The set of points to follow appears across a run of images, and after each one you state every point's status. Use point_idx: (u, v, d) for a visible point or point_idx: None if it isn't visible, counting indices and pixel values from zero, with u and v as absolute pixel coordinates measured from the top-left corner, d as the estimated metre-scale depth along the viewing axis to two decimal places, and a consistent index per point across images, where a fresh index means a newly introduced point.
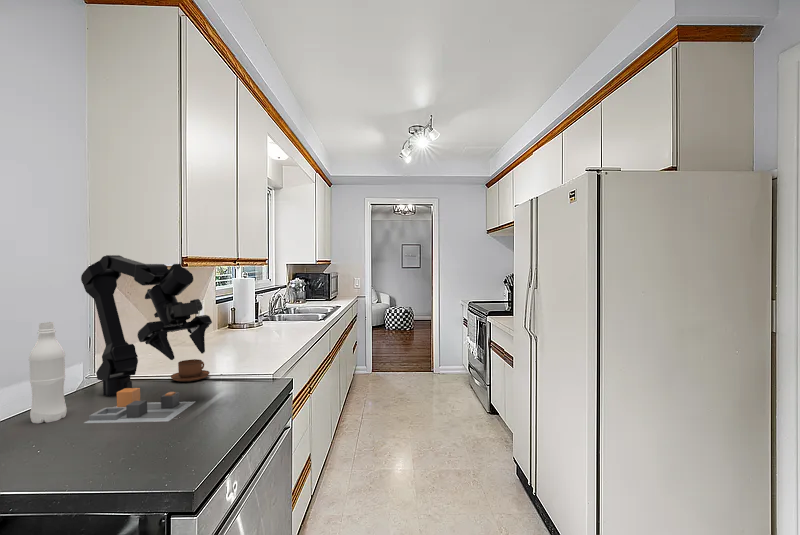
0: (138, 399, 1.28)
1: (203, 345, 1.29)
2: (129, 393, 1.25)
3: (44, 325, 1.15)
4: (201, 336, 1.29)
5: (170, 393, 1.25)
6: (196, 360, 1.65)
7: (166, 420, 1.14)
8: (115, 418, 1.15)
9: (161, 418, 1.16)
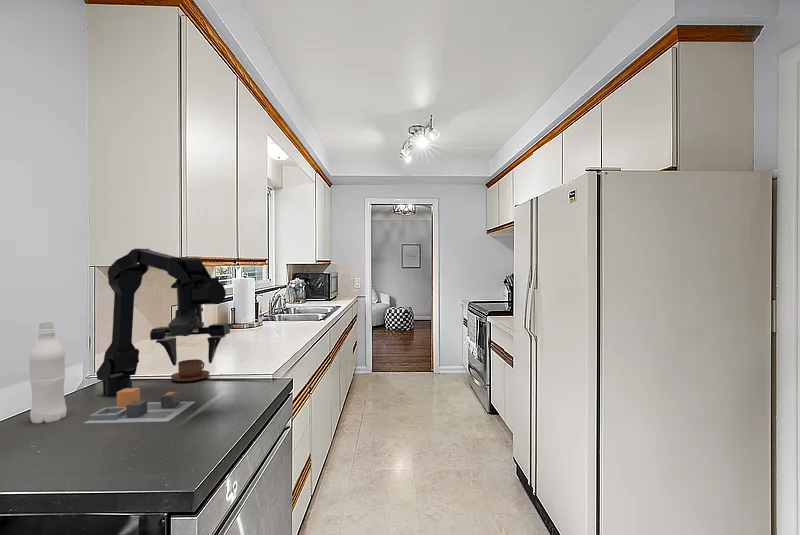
0: (138, 399, 1.28)
1: (210, 356, 1.25)
2: (129, 393, 1.25)
3: (44, 325, 1.15)
4: (210, 347, 1.24)
5: (170, 393, 1.25)
6: (196, 360, 1.65)
7: (166, 420, 1.14)
8: (115, 418, 1.15)
9: (161, 418, 1.16)
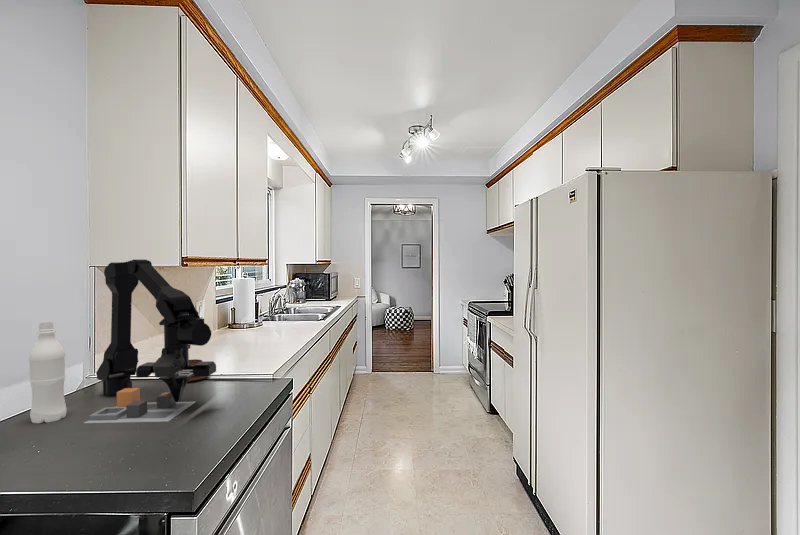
0: (138, 399, 1.28)
1: (177, 396, 1.25)
2: (129, 393, 1.25)
3: (44, 325, 1.15)
4: (177, 386, 1.24)
5: (166, 393, 1.25)
6: (196, 360, 1.65)
7: (166, 420, 1.14)
8: (115, 418, 1.15)
9: (161, 418, 1.16)
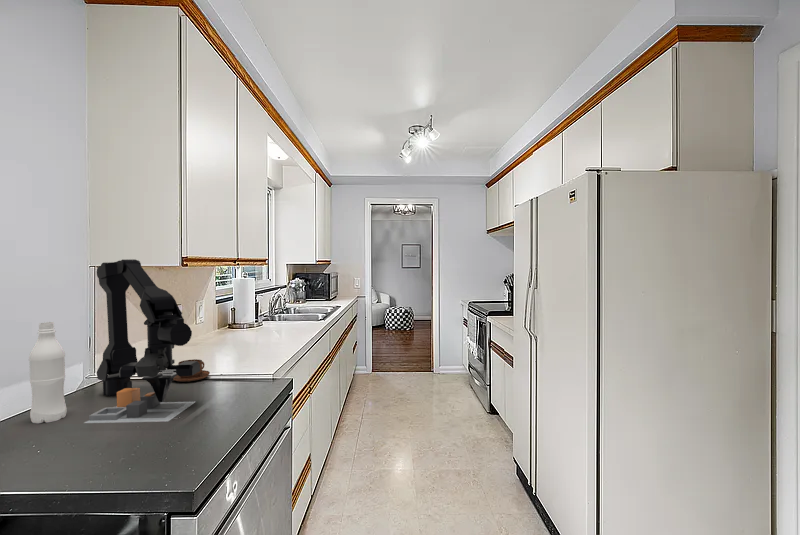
0: (138, 399, 1.28)
1: (161, 395, 1.24)
2: (129, 393, 1.25)
3: (44, 325, 1.15)
4: (161, 386, 1.24)
5: (150, 393, 1.25)
6: (196, 360, 1.64)
7: (166, 420, 1.14)
8: (115, 418, 1.15)
9: (161, 418, 1.16)
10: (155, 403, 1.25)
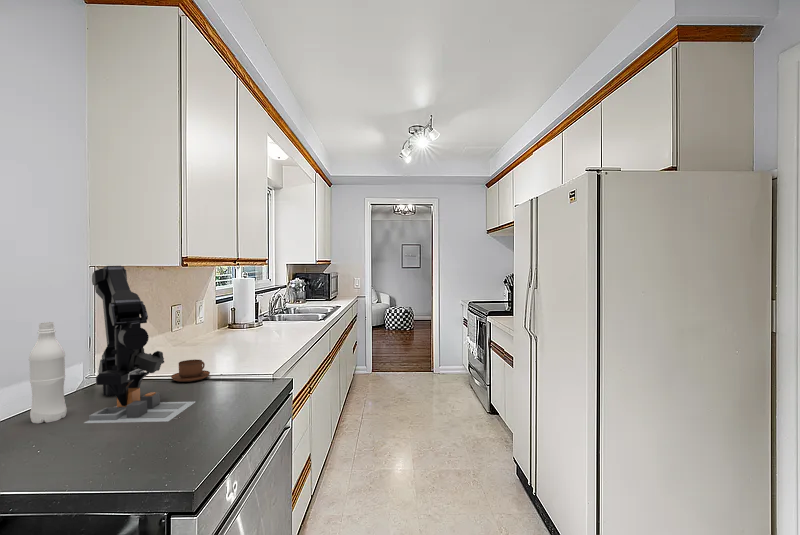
0: (138, 399, 1.28)
1: None
2: (129, 393, 1.25)
3: (44, 325, 1.15)
4: (138, 384, 1.30)
5: (150, 393, 1.25)
6: (196, 360, 1.64)
7: (166, 420, 1.14)
8: (115, 418, 1.15)
9: (161, 418, 1.16)
10: (155, 403, 1.25)
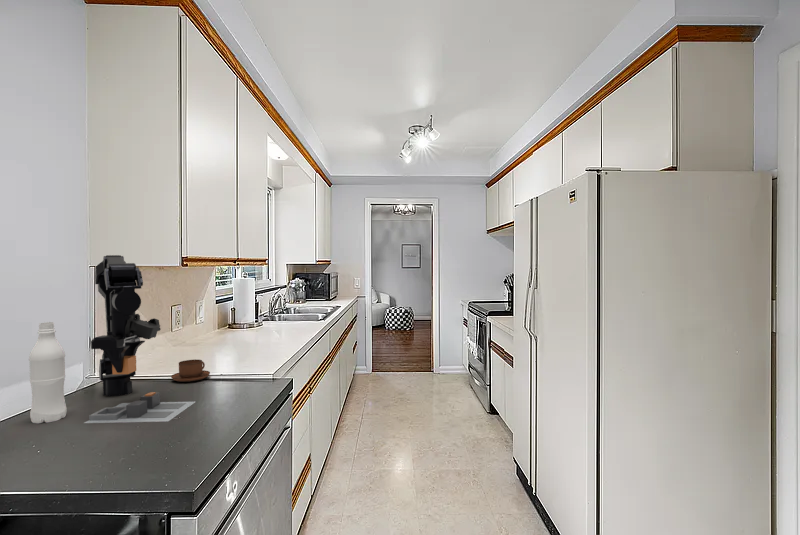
0: (134, 367, 1.26)
1: None
2: (125, 360, 1.23)
3: (44, 325, 1.15)
4: (133, 352, 1.28)
5: (150, 393, 1.25)
6: (196, 360, 1.64)
7: (166, 420, 1.14)
8: (115, 418, 1.15)
9: (161, 418, 1.16)
10: (155, 403, 1.25)
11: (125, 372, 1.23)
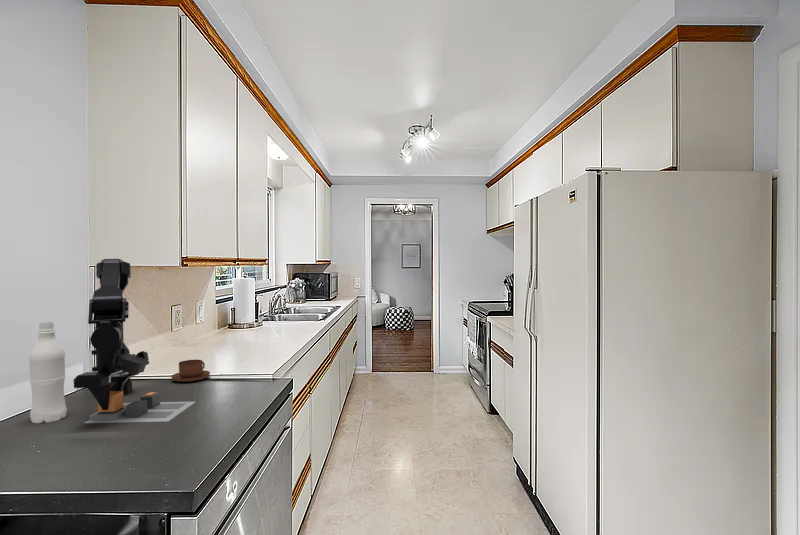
0: (121, 403, 1.19)
1: None
2: (111, 396, 1.16)
3: (44, 325, 1.15)
4: (121, 386, 1.21)
5: (150, 393, 1.25)
6: (197, 360, 1.64)
7: (166, 420, 1.14)
8: (115, 418, 1.15)
9: (161, 418, 1.16)
10: (155, 403, 1.25)
11: (111, 409, 1.16)
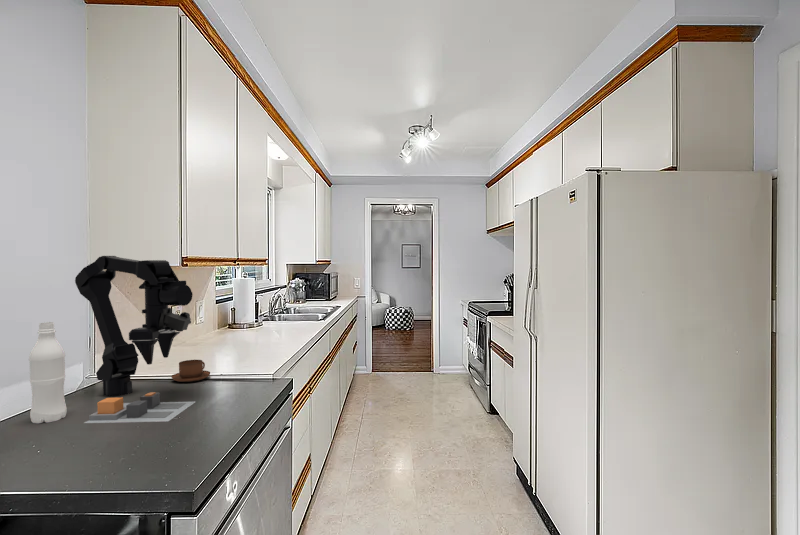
0: (121, 409, 1.19)
1: (169, 351, 1.38)
2: (111, 403, 1.16)
3: (44, 325, 1.15)
4: (170, 342, 1.38)
5: (150, 393, 1.25)
6: (197, 360, 1.64)
7: (166, 420, 1.14)
8: (115, 418, 1.15)
9: (161, 418, 1.16)
10: (155, 403, 1.25)
11: None
